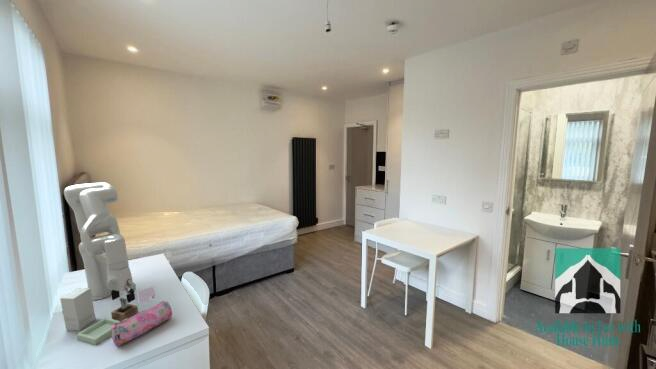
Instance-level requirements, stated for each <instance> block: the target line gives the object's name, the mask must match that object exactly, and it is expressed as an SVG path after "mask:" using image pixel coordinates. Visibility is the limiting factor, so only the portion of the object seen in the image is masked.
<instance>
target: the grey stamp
mask: <svg viewBox="0 0 656 369" xmlns="http://www.w3.org/2000/svg"><path fill="white" fill-rule="evenodd" d="M119 301H120V307H121V309H122V313H123V312H125V311H127V310H128V308H127V304H128V303H127V298H124V297H120V299H119Z"/></svg>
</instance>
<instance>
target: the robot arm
mask: <svg viewBox="0 0 656 369" xmlns="http://www.w3.org/2000/svg"><path fill="white" fill-rule="evenodd" d="M63 195H64V199H65V200H66V202H67V204H68V206H69V207H70V208H71V209H72V211H73V212H74V218H75V222H76V225H77V230H78V232H79V235H80V243H79V244H78V250H79V254H80V256H81V258H82V261H83V262H82V263H83V266H84V274H85V278H86V283H87V287H86V288H91V295H92V300H93V302H95V301H98V300H103V299H105V298H108V297H110V296H111V301H115V300H116V299H119V298H121V294H120V292H125V294H126V295H125V296H126V299H127V304H130V303H131V302H133V301H134V300H136V294H135V292H136V287H137V284H136V283H135V282H134V281H133V276H132V275H133V274H132V271H131V269H130V266H129V259H128V251H127V245H126V240H125V237H124V236H123V235H122V234H121V231H120V227H119V223H118V220H117V218H116V216H115V215H114V214H111V213H110V210H109V208H108V206H107V205H108V204H113V203H116V202H117V201H118V200H119V194H118V191H117V189H116V188H115V187H114V186H113V185H111V184H110V183H108V182H105V181H102V182H101V181H99V182H92V183H91V182H90V183H80V184H74V185H69V186H66V187H65V188H64V190H63ZM102 233H103V235H99V234H102ZM104 233H106V234H104ZM94 235H98V236H94ZM90 236H94V237H90ZM103 255H105V257H104V256H103Z"/></svg>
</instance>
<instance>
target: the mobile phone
mask: <svg viewBox="0 0 656 369" xmlns="http://www.w3.org/2000/svg"><path fill="white" fill-rule="evenodd" d="M137 299H138V300H137V302H138V304H144V303H147V302H151V301H153V300H157V295H156V291H155V287H154V286H151V287H148V288H144V289H140V290H138V291H137Z"/></svg>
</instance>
